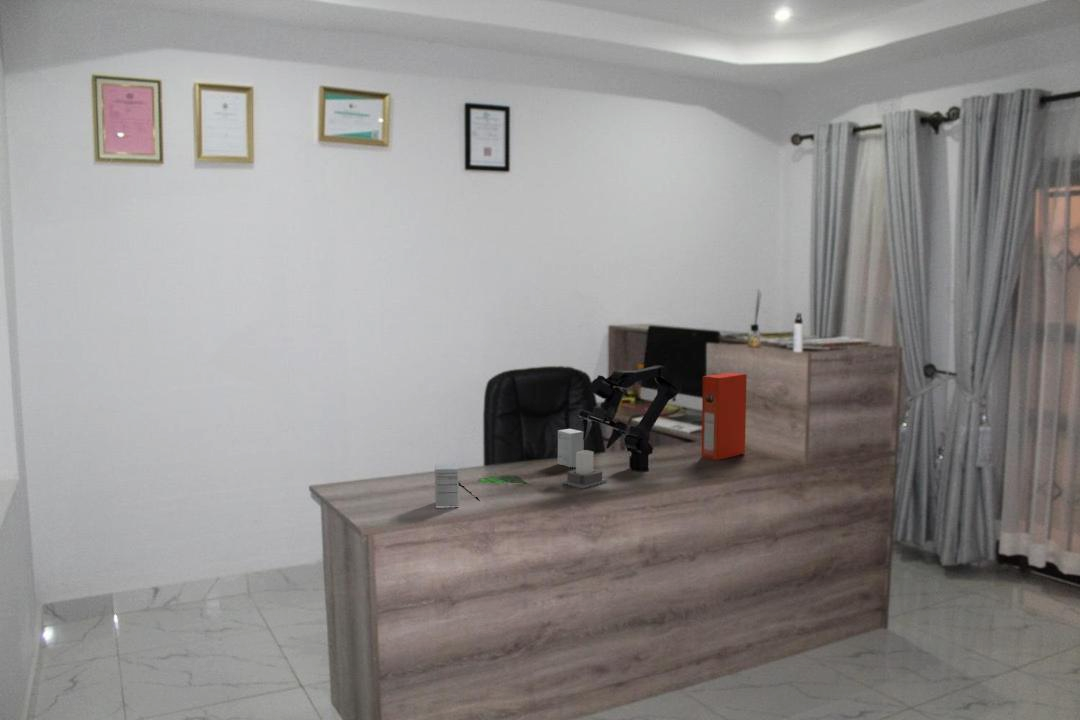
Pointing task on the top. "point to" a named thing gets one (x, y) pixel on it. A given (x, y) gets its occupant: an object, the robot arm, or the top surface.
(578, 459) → the plain light grey box
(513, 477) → the mouse mat
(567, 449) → the small box
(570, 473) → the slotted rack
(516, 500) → the top surface
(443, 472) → the grey drawer cabinet
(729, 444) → the file binder
